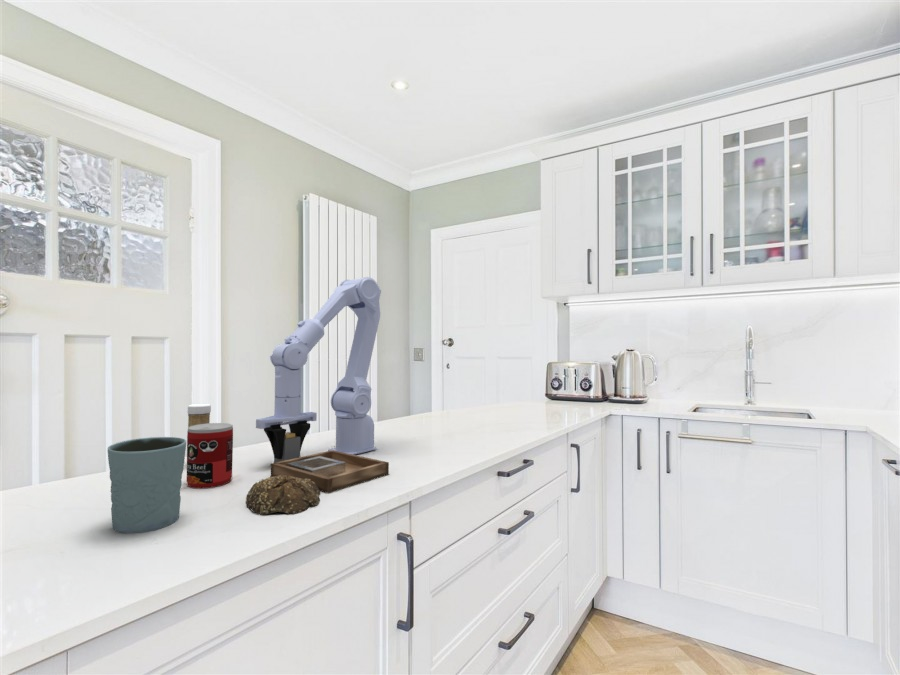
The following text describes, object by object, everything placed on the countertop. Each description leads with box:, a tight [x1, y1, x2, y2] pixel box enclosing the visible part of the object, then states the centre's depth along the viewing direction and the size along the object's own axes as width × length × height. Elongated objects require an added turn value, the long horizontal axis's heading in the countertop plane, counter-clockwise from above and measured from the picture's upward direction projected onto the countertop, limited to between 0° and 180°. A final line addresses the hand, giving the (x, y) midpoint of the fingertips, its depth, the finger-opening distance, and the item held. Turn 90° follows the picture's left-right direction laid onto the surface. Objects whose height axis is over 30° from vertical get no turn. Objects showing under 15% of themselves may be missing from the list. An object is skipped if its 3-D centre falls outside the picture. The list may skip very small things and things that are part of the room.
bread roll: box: [245, 475, 321, 516], centre depth 82 cm, size 13×12×5 cm
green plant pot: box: [107, 436, 187, 534], centre depth 72 cm, size 10×10×12 cm
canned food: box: [186, 422, 234, 489], centre depth 92 cm, size 8×8×11 cm
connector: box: [273, 431, 301, 463], centre depth 107 cm, size 4×4×7 cm
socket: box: [287, 456, 346, 477], centre depth 98 cm, size 8×8×2 cm
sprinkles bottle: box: [187, 403, 212, 428], centre depth 105 cm, size 5×5×13 cm
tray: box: [270, 450, 390, 494], centre depth 98 cm, size 16×18×2 cm
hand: (287, 456), depth 107 cm, fingers closed on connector, 4 cm apart
